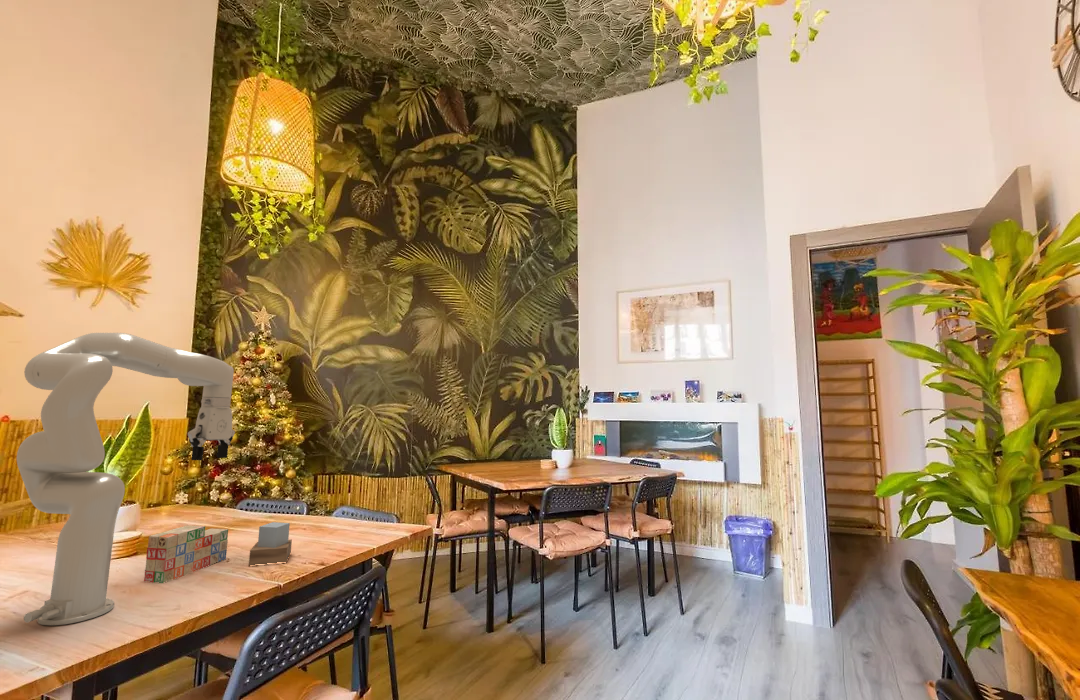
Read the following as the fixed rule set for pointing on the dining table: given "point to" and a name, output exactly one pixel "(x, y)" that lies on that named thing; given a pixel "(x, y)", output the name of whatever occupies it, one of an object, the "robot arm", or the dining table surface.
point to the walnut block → (269, 554)
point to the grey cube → (273, 534)
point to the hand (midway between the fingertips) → (209, 458)
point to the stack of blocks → (183, 552)
